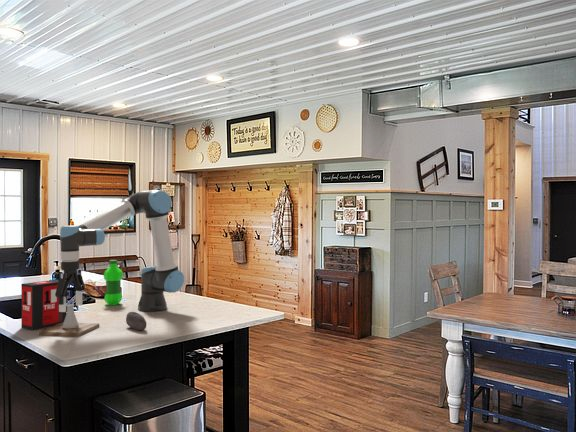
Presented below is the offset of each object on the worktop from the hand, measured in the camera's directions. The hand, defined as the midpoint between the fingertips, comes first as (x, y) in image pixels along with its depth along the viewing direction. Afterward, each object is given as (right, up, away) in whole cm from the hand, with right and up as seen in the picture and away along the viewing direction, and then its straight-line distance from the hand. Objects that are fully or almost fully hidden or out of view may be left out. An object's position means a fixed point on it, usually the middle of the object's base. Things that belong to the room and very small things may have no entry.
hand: (71, 308), depth 222 cm
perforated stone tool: (+28, -10, +4) cm, 30 cm away
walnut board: (0, -10, 0) cm, 10 cm away
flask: (0, -9, 0) cm, 9 cm away
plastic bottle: (-3, -9, +63) cm, 64 cm away
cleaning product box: (-16, -10, +10) cm, 21 cm away
